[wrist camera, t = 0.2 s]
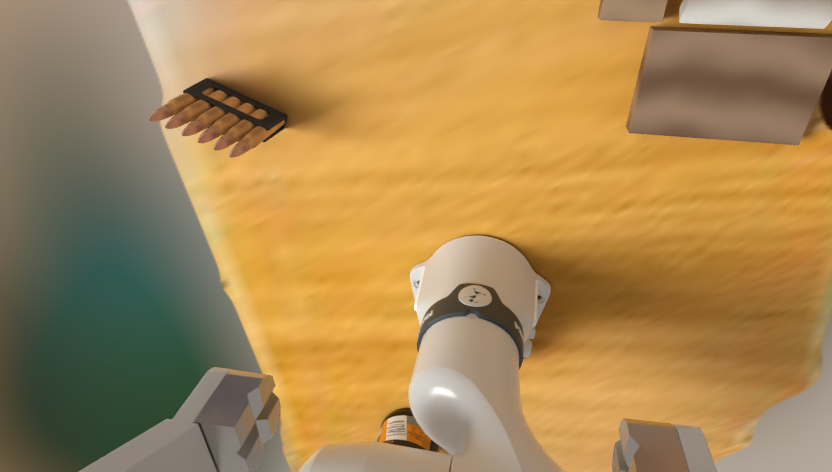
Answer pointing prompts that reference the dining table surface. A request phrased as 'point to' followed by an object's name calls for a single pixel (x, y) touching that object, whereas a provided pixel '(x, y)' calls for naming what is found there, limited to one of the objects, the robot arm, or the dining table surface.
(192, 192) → the dining table surface
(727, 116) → the walnut boards
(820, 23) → the ash plank
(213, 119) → the ammunition clip
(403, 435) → the supplement container
